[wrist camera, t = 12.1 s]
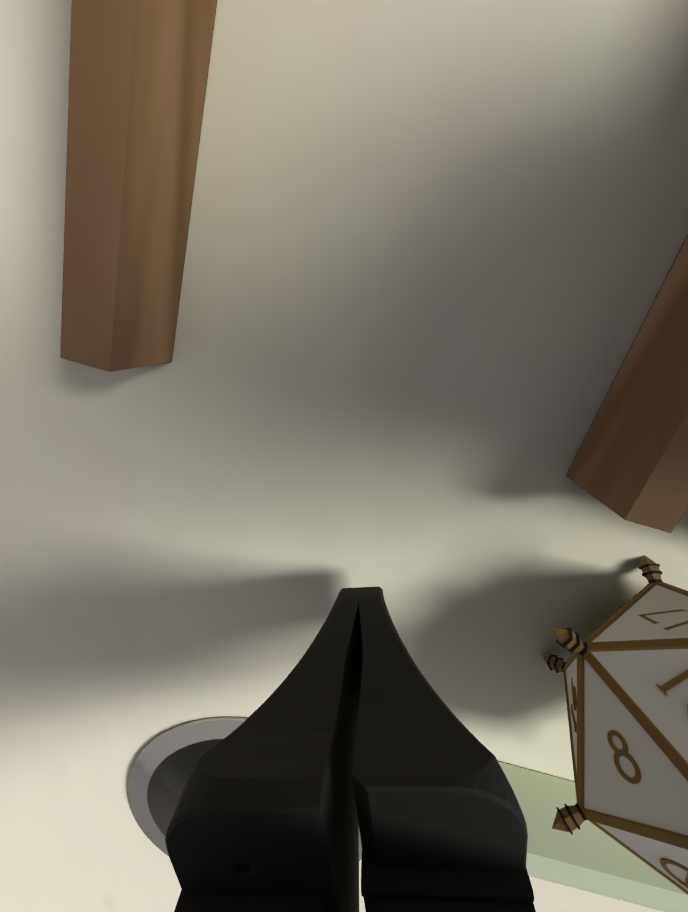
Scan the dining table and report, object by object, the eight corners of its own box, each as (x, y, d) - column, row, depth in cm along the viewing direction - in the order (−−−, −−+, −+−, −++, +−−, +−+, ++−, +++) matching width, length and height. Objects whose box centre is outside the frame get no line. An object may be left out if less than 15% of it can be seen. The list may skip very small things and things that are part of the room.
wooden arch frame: (1092, -416, 7) (1631, -975, 4) (601, 485, 12) (671, 533, 9) (234, -719, 6) (123, -1572, 3) (134, 350, 12) (60, 357, 9)
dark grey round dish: (410, 759, 17) (411, 765, 16) (338, 906, 21) (337, 913, 20) (142, 687, 16) (139, 692, 16) (119, 850, 20) (116, 855, 20)
